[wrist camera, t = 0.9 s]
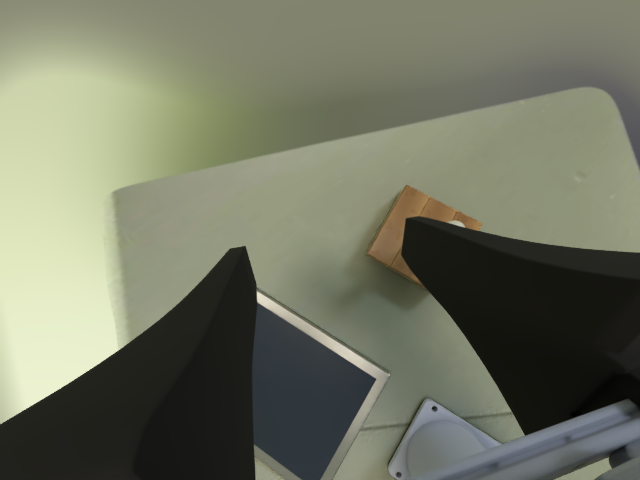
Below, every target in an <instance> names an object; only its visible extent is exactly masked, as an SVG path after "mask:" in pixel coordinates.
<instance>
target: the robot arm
mask: <svg viewBox="0 0 640 480" xmlns="http://www.w3.org/2000/svg"><path fill="white" fill-rule="evenodd" d="M401 256H402V258H403V259H404V261H405V262H406V264H407V266H408V267H409V269H410V270H411V271H412V273H413V274H414V275H415V276H416V277H417V279H418V280H419V281H420V282H421V283H422V284H423V285H424V286H425V288H426V289H427V290H428V291H429V292H430V293H431V294H432V295H433V297H434V298H435V299H436V300H437V301H438V302H439V303H440V304H441V305H442V307H443V308H444V309H445V310H446V311H447V313H448V314H449V315H450V316H451V317H452V319H453V320H454V322H455V323H456V324H457V326H458V327H459V328H460V330H461V331H462V333H463V334H464V335H465V337H466V338H467V340H468V341H469V343H470V344H471V346H472V347H473V349H474V350H475V352H476V353H477V355H478V356H479V358H480V359H481V361H482V362H483V364H484V365H485V367H486V369H487V370H488V372H489V373H490V375H491V377H492V378H493V380H494V381H495V383H496V385H497V386H498V388H499V390H500V391H501V393H502V395H503V397H504V398H505V400H506V402H507V404H508V405H509V407H510V409H511V411H512V412H513V414H514V416H515V418H516V420H517V421H518V423H519V425H520V427H521V429H522V431H523V433H524V434H525V436H523V437H521V438H518V439H515V440H512V441H510V442H507V443H504V444H501V443H499V442H498V441H496V440H495V439H493V438H491V437H490V436H488V435H487V434H485V433H483V432H482V431H480V430H479V429H477V428H476V427H474V426H472V425H471V424H469V423H468V422H466V421H465V420H463V419H461V418H460V417H458V416H457V415H455V414H454V413H452V412H450V411H449V410H447V409H446V408H444V407H443V406H441V405H439V404H438V403H436V402H435V401H433V400H431V399H429V398H427V399H425V400H424V401H423V403H422V405H421V407H420V408H419V410H418V412H417V414H416V416H415V417H414V419H413V421H412V423H411V425H410V427H409V428H408V430H407V432H406V434H405V436H404V438H403V439H402V441H401V443H400V445H399V447H398V448H397V450H396V452H395V454H394V456H393V458H392V459H391V461H390V463H389V465H388V471H389V474H390V475H391V476H392V477H394V478H395V479H397V480H553V479H556V478H558V477H561V476H563V475H566V474H568V473H571V472H573V471H576V470H578V469H581V468H583V467H585V466H588V465H590V464H593V463H595V462H598V461H600V460H603V459H605V458H608V457H609V463H610V465H611V467H612V469H611V470H609V471H607V472H605V473H603V474H602V475H600V476H599V477H597V478H596V479H595V480H640V253H633V252H618V251H604V250H592V249H581V248H572V247H564V246H555V245H548V244H541V243H534V242H529V241H523V240H517V239H512V238H507V237H502V236H497V235H493V234H489V233H485V232H480V231H477V230H473V229H469V228H465V227H461V226H458V225H454V224H450V223H447V222H443V221H439V220H435V219H431V218H427V217H421V216H415V217H410V218H406V220H405V227H404V235H403V243H402V251H401ZM256 314H257V288H256V281H255V278H254V274H253V271H252V267H251V264H250V260H249V257H248V253H247V250H246V246H243V247H237V248H231V249H229V250H228V252H227V253H226V254H225V255H224V256H223V257H222V258H221V260H220V261H219V262H218V263H217V264H216V265H215V267H214V268H213V269H212V270H211V271H210V272H209V273H208V274H207V276H206V277H205V278H204V279H203V280H202V281H201V282H200V283H199V284H198V285H197V286H196V287H195V288H194V289H193V290H192V291H191V292H190V293H189V294H188V295H187V296H186V297H185V298H184V299H183V300H182V301H181V302H180V303H179V304H177V305H176V306H175V307H174V308H173V309H172V310H171V311H169V312H168V313H167V314H166V315H165V316H163V317H162V318H161V319H160V320H159V321H157V322H156V323H155V324H154V325H152V326H151V327H150V328H148V329H147V330H146V331H144V332H143V333H142V334H140V335H139V336H138V337H136V338H135V339H134V340H132V341H131V342H130V343H128V344H127V345H126V346H124V347H123V348H122V349H120V350H119V351H117V352H116V353H115V354H113V355H111V356H110V357H108V358H107V359H106V360H104V361H103V362H101V363H100V364H98V365H97V366H95V367H94V368H92V369H90V370H89V371H87V372H86V373H84V374H83V375H81V376H80V377H78V378H77V379H75V380H74V381H72V382H71V383H69V384H67V385H66V386H64V387H62V388H61V389H59V390H58V391H56V392H54V393H52V394H51V395H49V396H48V397H46V398H44V399H42V400H41V401H39V402H37V403H36V404H34V405H32V406H31V407H29V408H27V409H26V410H24V411H22V412H21V413H19V414H17V415H16V416H14V417H12V418H10V419H9V420H7V421H6V422H4V423H2V424H0V480H255V460H254V433H253V395H252V361H253V347H254V336H255V325H256ZM433 406H436V408H435V409H432V407H433ZM397 472H400V473H399V474H397Z"/></svg>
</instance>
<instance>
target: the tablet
mask: <svg viewBox="0 0 640 480" xmlns="http://www.w3.org/2000/svg"><path fill="white" fill-rule="evenodd" d="M389 377H390V374H389V372H388V371H387V370H385V369H384V368H382V367H380V366H379V365H377V364H376V363H374V362H373V361H371V360H369V359H368V358H366V357H365V356H363V355H361V354H360V353H358V352H357V351H355V350H354V349H352V348H350V347H349V346H347V345H346V344H344V343H343V342H341V341H339V340H338V339H336V338H335V337H333V336H332V335H330V334H328V333H327V332H325V331H324V330H322V329H320V328H319V327H317V326H316V325H314V324H313V323H311V322H309V321H308V320H306V319H305V318H303V317H302V316H300V315H298V314H297V313H295V312H294V311H292V310H290V309H289V308H287V307H286V306H284V305H283V304H281V303H279V302H278V301H276V300H275V299H273V298H272V297H270V296H268V295H267V294H265V293H264V292H262V291H261V290H259V289H257V314H256V325H255V336H254V347H253V361H252V395H253V433H254V456H255V457H257V458H258V459H259V460H261V461H262V462H263V463H265V464H266V465H267V466H269V467H270V468H271V469H273V470H274V471H275V472H276V473H278V474H279V475H280V476H282V477H283V478H284V479H286V480H332V479H333V478H334V476H335V474H336V472H337V470H338V469H339V467H340V465H341V463H342V461H343V460H344V458H345V456H346V454H347V452H348V451H349V449H350V447H351V445H352V443H353V442H354V440H355V438H356V436H357V434H358V433H359V431H360V429H361V427H362V425H363V424H364V422H365V420H366V418H367V416H368V415H369V413H370V411H371V409H372V407H373V406H374V404H375V402H376V400H377V398H378V397H379V395H380V393H381V391H382V389H383V388H384V386H385V384H386V382H387V380H388V379H389Z"/></svg>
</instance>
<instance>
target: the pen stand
mask: <svg viewBox="0 0 640 480" xmlns="http://www.w3.org/2000/svg"><path fill="white" fill-rule="evenodd" d="M415 216H421V217H427V218H431V219H435V220H439V221H443V222H449V221H453V220H456V221H460V222H461V223H463V224H464V226H465V228H469V229H473V230H477V231H479V229H480V227H481V225H482V223H481V222H479V221H477V220H475V219H473V218H471V217H469V216H467V215H465V214H463V213H461V212H459V211H457V210H455V209H453V208H451V207H449V206H447V205H445V204H443V203H441V202H439V201H437V200H435V199H433V198H431V197H429V196H428V195H426V194H424V193H422V192H420V191H418V190H416V189H414V188H412V187H410V186H408V185H406V186H405V187H404V188H403V190H402V191H401V192H400V193H399V195H398V197H397V199H396V200H395V202H394V204H393V206H392V207H391V209H390V211H389V213H388V214H387V216H386V218H385V220H384V221H383V223H382V225H381V227H380V228H379V230H378V232H377V234H376V235H375V237H374V239H373V241H372V242H371V244H370V246H369V248H368V249H367V251H366V253H365V255H366V256H368V257H370V258H371V259H373V260H375V261H377V262H378V263H380V264H382V265H384V266H386V267H387V268H389V269H391V270H393V271H394V272H396V273H398V274H400V275H401V276H403V277H405V278H407V279H408V280H410V281H412V282H414V283H415V284H417V285H419V286H421V287H422V288H424V289H426V288H425V286H424V285H423V284H422V283H421V282H420V281H419V280H418V279H417V277H416V276H415V275H414V274H413V273H412V271H411V270H410V269H409V267H408V266H407V264H406V262H405V261H404V259H403V258H402V256H401V251H402V243H403V235H404V227H405V220H406V218H410V217H415ZM426 290H427V289H426Z"/></svg>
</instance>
